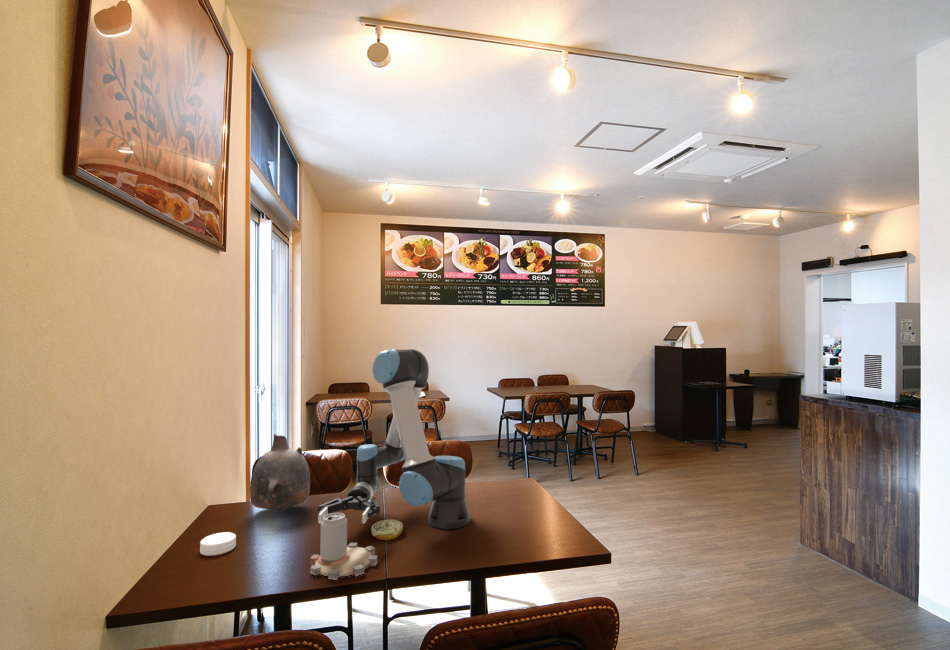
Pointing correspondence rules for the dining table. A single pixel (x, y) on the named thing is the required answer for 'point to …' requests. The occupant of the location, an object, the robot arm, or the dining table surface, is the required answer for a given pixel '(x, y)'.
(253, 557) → the dining table surface
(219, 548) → the white thick disc
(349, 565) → the sprocket wheel
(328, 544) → the can
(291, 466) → the jug
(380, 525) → the decorated donut
